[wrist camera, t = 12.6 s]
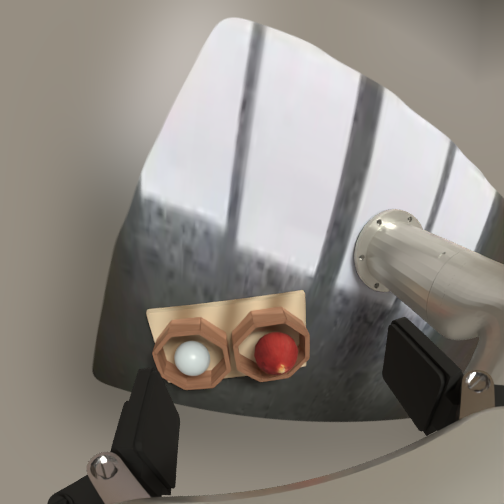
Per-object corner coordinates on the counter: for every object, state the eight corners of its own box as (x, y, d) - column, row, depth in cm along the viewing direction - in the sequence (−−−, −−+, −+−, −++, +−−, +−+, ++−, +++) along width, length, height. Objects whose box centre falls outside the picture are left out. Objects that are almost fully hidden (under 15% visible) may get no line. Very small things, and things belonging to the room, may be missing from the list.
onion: (280, 358, 42) (290, 393, 35) (245, 348, 41) (250, 384, 34) (298, 327, 41) (313, 361, 33) (262, 316, 40) (271, 349, 32)
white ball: (207, 332, 40) (206, 353, 35) (213, 359, 41) (213, 381, 36) (172, 335, 39) (168, 356, 35) (180, 362, 41) (177, 384, 36)
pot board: (302, 289, 41) (312, 305, 36) (304, 361, 45) (311, 379, 40) (147, 309, 39) (140, 326, 35) (169, 377, 43) (165, 397, 39)
